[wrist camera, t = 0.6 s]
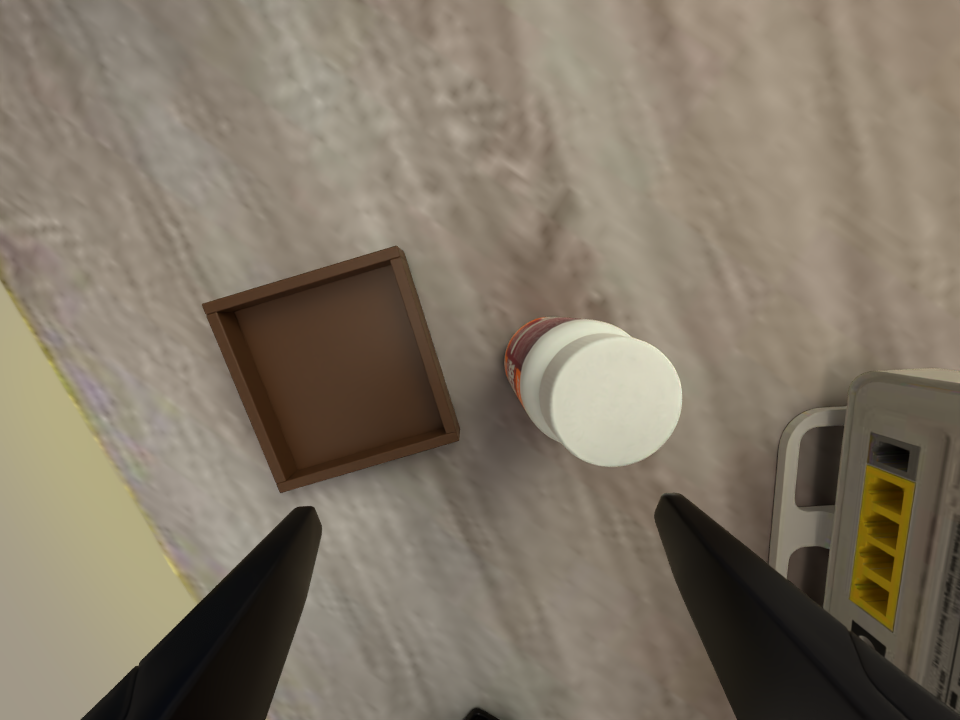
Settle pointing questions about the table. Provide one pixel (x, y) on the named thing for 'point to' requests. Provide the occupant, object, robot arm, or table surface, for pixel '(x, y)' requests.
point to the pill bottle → (594, 388)
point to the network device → (888, 520)
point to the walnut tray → (336, 368)
